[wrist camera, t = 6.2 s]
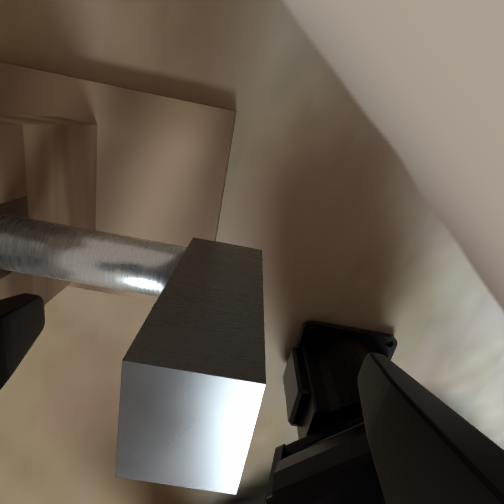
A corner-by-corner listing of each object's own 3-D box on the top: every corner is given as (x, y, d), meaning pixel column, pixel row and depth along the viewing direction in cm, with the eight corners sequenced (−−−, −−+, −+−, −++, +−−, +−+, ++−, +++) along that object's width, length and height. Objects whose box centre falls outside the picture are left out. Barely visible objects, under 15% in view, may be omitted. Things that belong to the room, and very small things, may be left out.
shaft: (261, 240, 13) (265, 384, 6) (247, 306, 14) (236, 494, 7) (-6, 190, 12) (-365, 279, 5) (1, 262, 13) (-287, 418, 6)
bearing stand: (236, 112, 17) (211, 97, 8) (205, 303, 22) (165, 436, 12) (-13, 59, 17) (-353, -22, 7) (7, 268, 21) (-192, 382, 12)
